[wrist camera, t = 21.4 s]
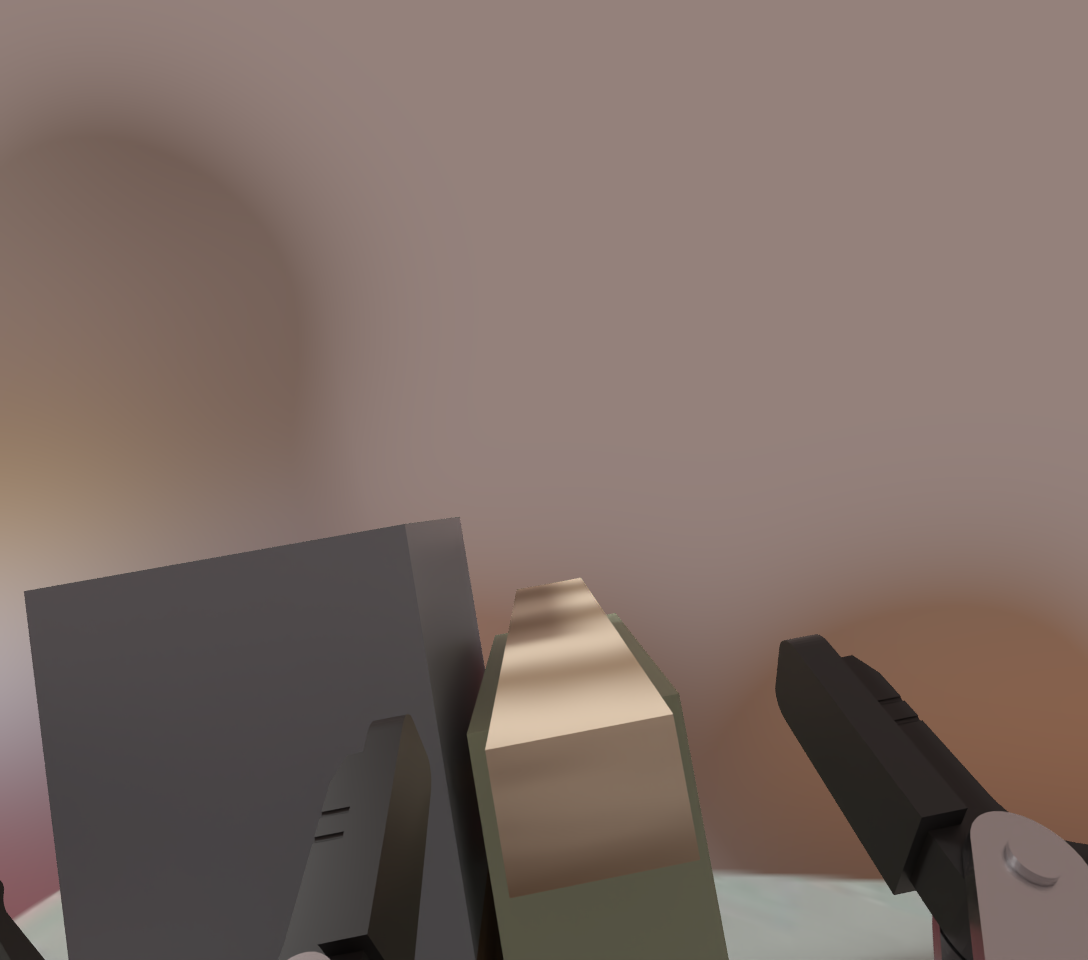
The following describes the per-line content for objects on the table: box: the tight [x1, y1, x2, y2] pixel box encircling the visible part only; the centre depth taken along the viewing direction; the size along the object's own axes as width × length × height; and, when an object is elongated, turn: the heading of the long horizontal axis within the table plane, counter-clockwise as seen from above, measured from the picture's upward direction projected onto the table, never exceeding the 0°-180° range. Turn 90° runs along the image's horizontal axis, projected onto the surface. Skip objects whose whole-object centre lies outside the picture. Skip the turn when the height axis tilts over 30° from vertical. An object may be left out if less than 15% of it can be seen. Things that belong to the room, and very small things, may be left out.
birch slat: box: [485, 578, 700, 898], centre depth 20 cm, size 20×4×3 cm, turn 1°
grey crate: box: [24, 517, 488, 960], centre depth 25 cm, size 14×14×16 cm
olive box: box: [467, 613, 729, 960], centre depth 25 cm, size 14×8×24 cm, turn 1°
